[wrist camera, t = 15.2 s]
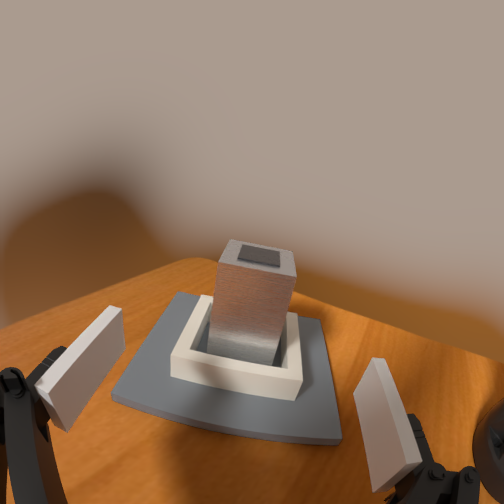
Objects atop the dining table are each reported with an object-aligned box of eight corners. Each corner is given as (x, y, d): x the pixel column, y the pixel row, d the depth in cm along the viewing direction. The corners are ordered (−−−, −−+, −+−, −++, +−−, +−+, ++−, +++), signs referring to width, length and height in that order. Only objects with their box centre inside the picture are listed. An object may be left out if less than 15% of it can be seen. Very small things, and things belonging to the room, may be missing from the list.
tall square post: (269, 341, 29) (292, 249, 25) (267, 377, 23) (297, 275, 20) (216, 330, 29) (230, 237, 25) (205, 365, 23) (218, 259, 20)
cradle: (317, 325, 35) (325, 302, 33) (337, 445, 18) (355, 420, 16) (177, 298, 35) (179, 273, 34) (112, 400, 18) (105, 370, 17)
